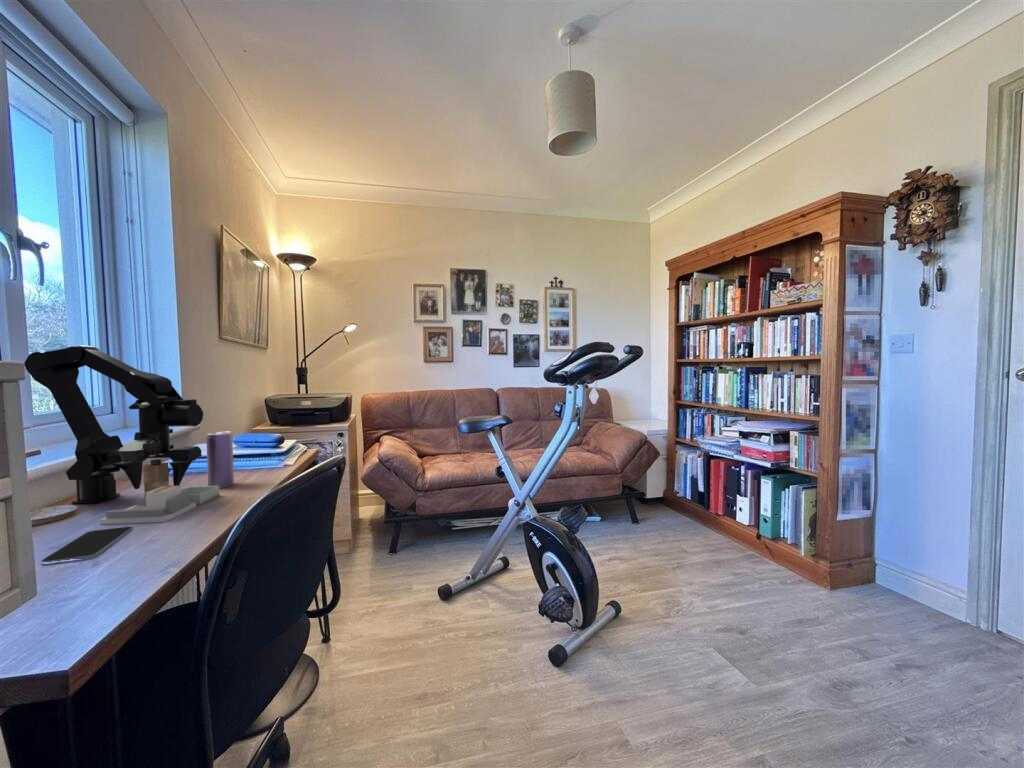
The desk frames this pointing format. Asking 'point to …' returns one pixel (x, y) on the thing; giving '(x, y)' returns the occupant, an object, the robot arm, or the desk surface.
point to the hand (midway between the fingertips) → (156, 488)
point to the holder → (201, 493)
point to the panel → (150, 511)
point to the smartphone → (88, 544)
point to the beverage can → (220, 459)
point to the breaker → (161, 496)
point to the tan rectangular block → (155, 475)
